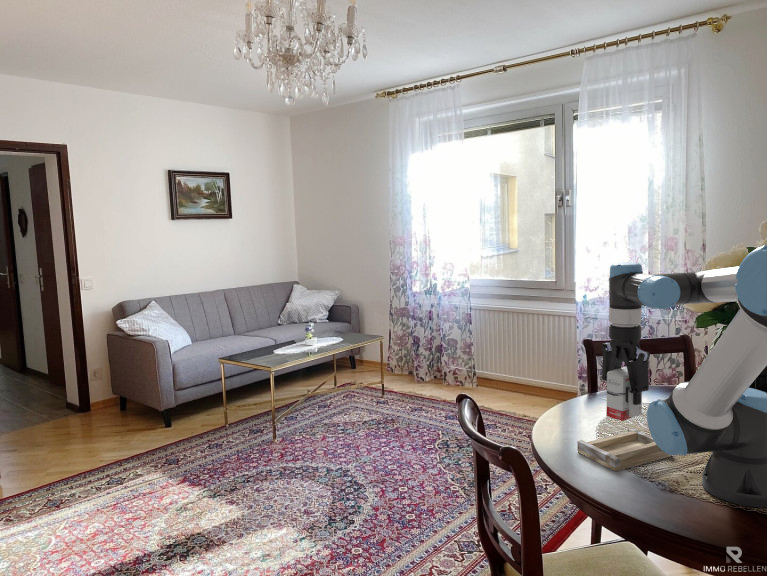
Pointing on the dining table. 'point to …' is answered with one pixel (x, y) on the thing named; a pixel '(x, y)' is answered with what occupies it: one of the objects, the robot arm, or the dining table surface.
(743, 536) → the dining table surface
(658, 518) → the dining table surface
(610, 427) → the dining table surface
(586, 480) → the dining table surface
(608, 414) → the ink box
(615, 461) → the wooden tray
